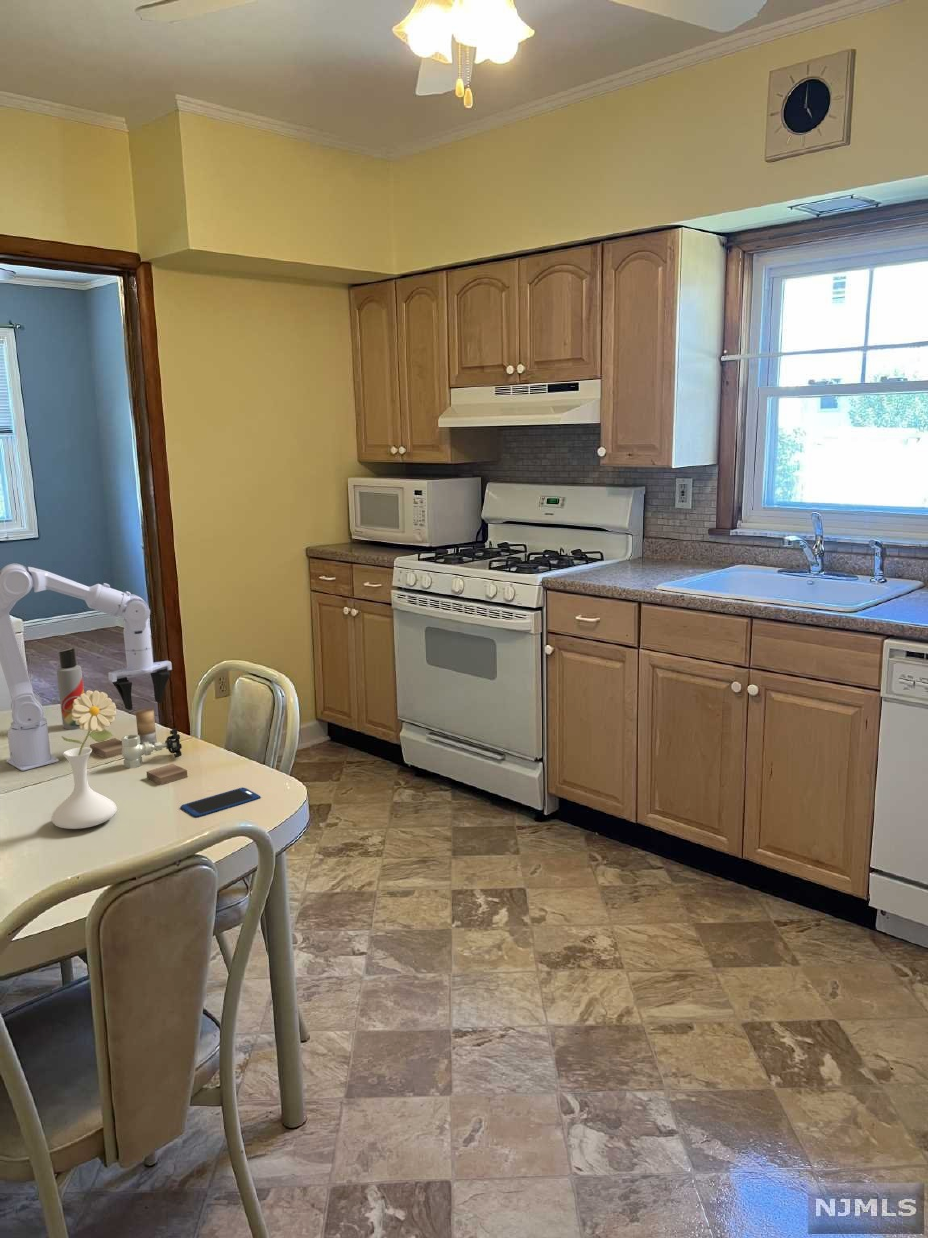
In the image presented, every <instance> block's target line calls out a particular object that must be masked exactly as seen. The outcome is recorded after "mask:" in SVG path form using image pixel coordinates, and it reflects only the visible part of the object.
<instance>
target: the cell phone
mask: <svg viewBox="0 0 928 1238" xmlns="http://www.w3.org/2000/svg"><path fill="white" fill-rule="evenodd" d="M260 799H261V796H260V795H259V794H257V793H256V792H254V791H252V790H250V789H248V788H247V787H244V786H243V787H239V788H235V789H232V790H228V791H225V792H221V793H218V794H215V795H214V794H213V795H211V796H208V797H204V798H200V799H197V800H194V801H191V802H187V803H183V804H181V806H180V810H182V811H184V812H185V813H187V814H188V815H189V816H192V817H193V818H196V819H197V818H202V817H205V816H208V815H211V814H215V813H219V812H222V811H225V810H228V809H231V808H235V807H237V806H241V805H242V806H243V805H244V804H248V803H250V802H254V801H257V800H260Z"/></svg>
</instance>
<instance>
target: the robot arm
mask: <svg viewBox="0 0 928 1238" xmlns="http://www.w3.org/2000/svg"><path fill="white" fill-rule="evenodd" d="M32 589H33V592H34V593H39V592H43V591H48V590H49V591H53V592H56V593H59V594H62V595H66V596H69V597H73V598H77V599H80V600H82V601H85V603H86V605H87V607H88V608H89V609H90V610H94V611H98V612H101V613H103V614H107V615H110V616H113V617H122V618H123V620H122V621H123V640H124V650H125V658H126V659H125V660H126V667H123V668H120V669H117V670H114V671H109V672H107V674H108V681H109V682H112V684H113V686H114V687H115V689H116V690H117V692H118V693H119V695H120V698H121V699H122V700H121V701H122V702H123V705H124V708H125V710H128V711H132V710H133V699H132V686H133V682H131V681H129V679H131V678H136V677H140V676H144V675H149V674H150V677H151V680H152V684H153V685H152V686H153V693H154V701H155V703H158V704H161V703H163V700H164V694H165V688H166V685H167V683H168V681H169V679H170V676H171V673H170V671H172V670H173V666H172V662H171V661H170V660H164V661H155V662H154V658H153V649H152V638H151V637H152V636H151V628H150V626H149V624H150V623H149V622H150V621H149V618H150V616H151V609H150V607H149V604H148V603H147V602H146V601H145V599H143V598H142V597H140V596H138V595H137V594H131V592H130V591H120V590H119V589H118V590H117V589H115V588H112V587H111V585H110V584H109V583H105V582H103V584H100V583H96V584H94V585H91V586H87V585H85V584H83V583H79V582H78V581H75V580H72V579H70V578H67V577H64V576H61V575H59V574H56V573H54V572H50V571H47V570H44V569H40V568H36V567H32V566H27V567H26V566H24V565H23V564H19V563H10V564H6V565H5V566H4V567H3V568H2V569H1V570H0V665H1V668H2V672H3V674H4V678H5V681H6V684H7V687H8V691H9V696H10V699H11V702H10V709H11V719H12V722H10V726H9V728H8V731H7V741H8V750H9V758H7V759H6V760H5V761H6V763H8V764H10V765H11V766H13V767H15V768H17V769H18V770H20V771H22V772H23V771H28V770H32V769H35V768H39V767H43V766H46V765H49V764H53V763H58V762H59V759H58V758H57V757H56V756H55V757H54V756H53V755H51V745H50V737H49V729H48V722H47V720H48V719H47V718H45V717H44V716H45V715H44V714H45V710H44V708H43V701H42V698H41V697H40V695H39V694H38V693H37V692H36V691H35V690H34V688H33V684H32V682H31V679H30V676H29V672H28V670H27V666H26V662H25V659H24V657H23V654H22V650H21V648H20V643H19V641H18V638H17V634H16V630H15V628H14V624H13V621H12V618H11V615H10V612H11V610H13V608H14V606H15V605H16V603H17V602H18V601H20V600H21V599H23V597H25V596H26V595H28V594H29V593H30V592H31V590H32Z"/></svg>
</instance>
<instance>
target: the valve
mask: <svg viewBox="0 0 928 1238" xmlns="http://www.w3.org/2000/svg"><path fill="white" fill-rule="evenodd" d="M169 734H170V735H169V736H167V737H166V740H165V742H162V741H159V742H158V741H157V743H155V744H154V745H152V744H149V742H143V744H139V743H140V736H139V735H138V734H127V735H124V736H123V737H122V738H121V741H122V746H123V748H122V754H121V755H122V757H123V759H124V760H123V765H124V766H123V767H124V768H127V769H135V768H139V767H141V766H142V765H143V757H142V756H145V757H147V756H150V755H151V753H153V752H154V751H155V752H158V751H162V750H163V749H164V748H166V750H168V752H169V753H170V754H173V757H174V758H179V757H182V751H181V749H183V748H182V746H183V745H182V743H181V742H180V739H181V735H180V734H179V733H178V729H177V728H172V729H170V730H169Z"/></svg>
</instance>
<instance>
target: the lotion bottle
mask: <svg viewBox="0 0 928 1238" xmlns="http://www.w3.org/2000/svg"><path fill="white" fill-rule="evenodd" d="M76 653H77V652H76V650H75V648H74V647H68V648H63V649H62V650H60V651H59V650H58V656H59V659H58V660H59V667H58V668H56V679H57V686H58V695H59V704H60V714H61V722H62V727H63V728H64V729H65V730H76V729H77V730H78V729H80V725H77V724H76V721H74V720H72V709H73V703H74V700H75V699H77V698H78V697H79V698H81V697H80V696H81V694H83V693H85V690H84V689H85V688H84V679H83V671H82V667H81V665H78V663H77V657H76Z"/></svg>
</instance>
